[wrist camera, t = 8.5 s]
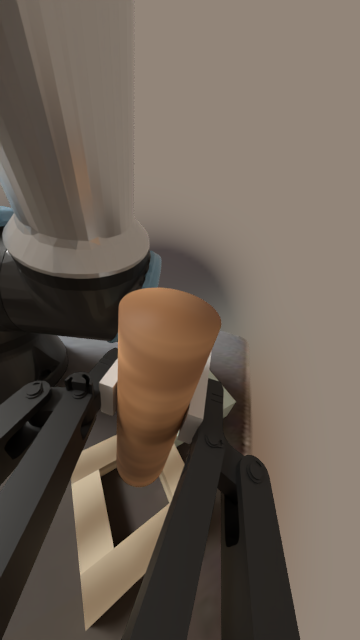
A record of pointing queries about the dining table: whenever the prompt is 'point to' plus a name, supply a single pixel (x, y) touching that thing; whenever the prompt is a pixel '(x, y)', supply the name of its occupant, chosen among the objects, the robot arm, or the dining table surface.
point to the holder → (95, 535)
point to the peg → (157, 374)
